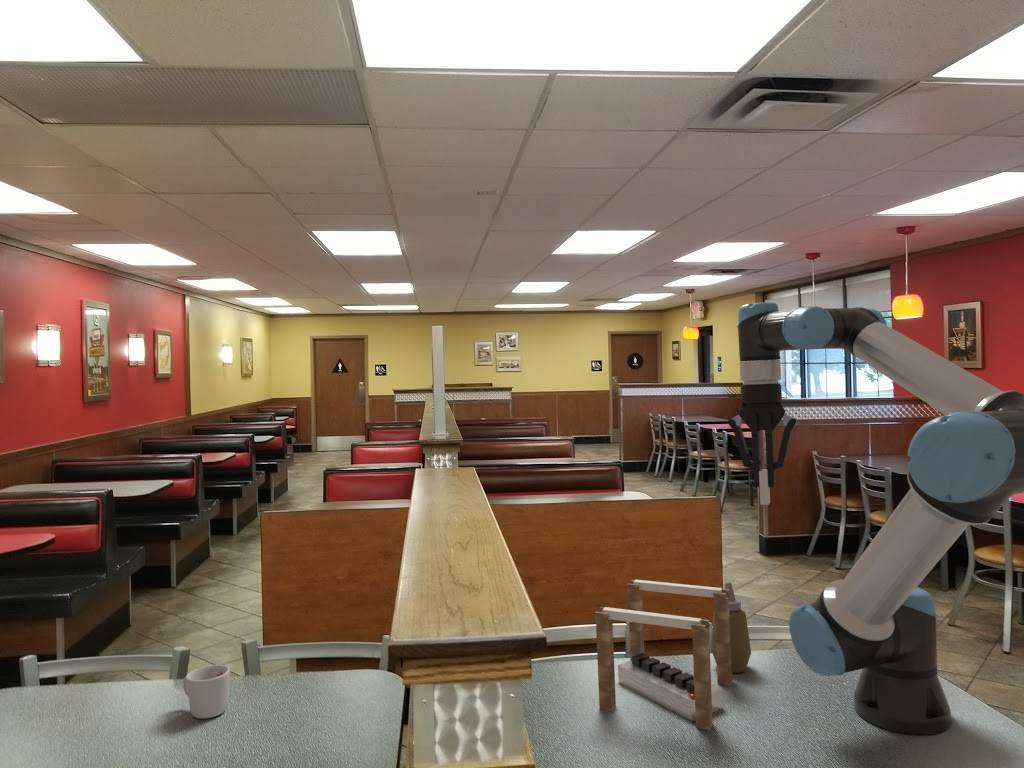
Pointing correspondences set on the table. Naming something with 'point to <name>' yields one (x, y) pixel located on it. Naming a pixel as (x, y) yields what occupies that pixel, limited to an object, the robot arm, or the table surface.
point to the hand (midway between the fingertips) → (765, 503)
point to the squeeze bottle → (735, 634)
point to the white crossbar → (677, 588)
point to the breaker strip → (664, 685)
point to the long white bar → (651, 618)
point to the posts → (699, 653)
